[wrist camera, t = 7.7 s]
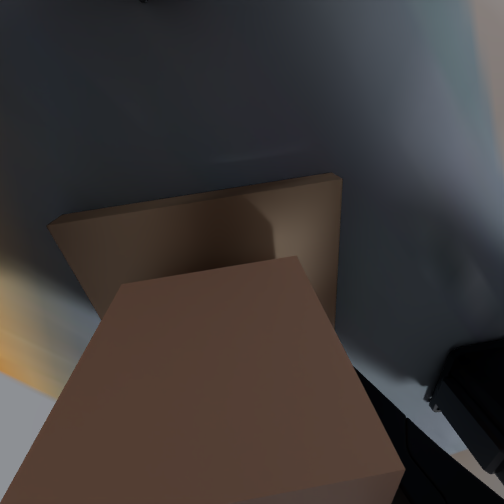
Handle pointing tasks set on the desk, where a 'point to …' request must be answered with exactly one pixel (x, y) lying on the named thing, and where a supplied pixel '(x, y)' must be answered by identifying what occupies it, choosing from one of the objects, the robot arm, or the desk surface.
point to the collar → (213, 402)
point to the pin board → (207, 236)
